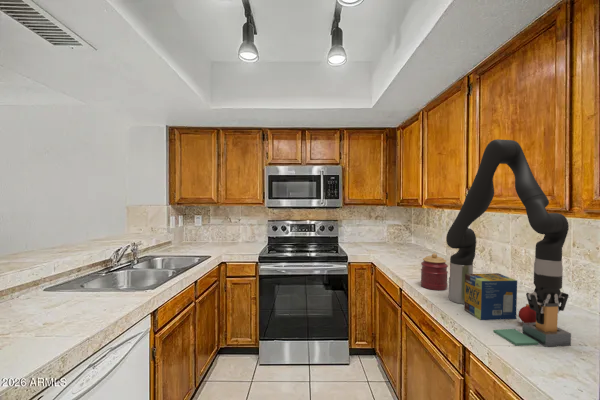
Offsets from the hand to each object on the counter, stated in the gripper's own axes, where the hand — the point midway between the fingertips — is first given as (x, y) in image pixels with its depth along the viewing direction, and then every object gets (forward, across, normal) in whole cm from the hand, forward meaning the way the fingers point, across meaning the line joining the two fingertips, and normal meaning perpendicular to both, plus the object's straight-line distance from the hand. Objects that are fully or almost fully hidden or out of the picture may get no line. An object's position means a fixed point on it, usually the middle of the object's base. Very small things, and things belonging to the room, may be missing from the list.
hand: (546, 322), depth 105 cm
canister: (+6, +6, -59) cm, 60 cm away
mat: (+6, +10, -2) cm, 11 cm away
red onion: (+6, -4, -11) cm, 13 cm away
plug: (+6, 0, 0) cm, 6 cm away
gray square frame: (+6, 0, 0) cm, 6 cm away
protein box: (+6, +4, -22) cm, 23 cm away
